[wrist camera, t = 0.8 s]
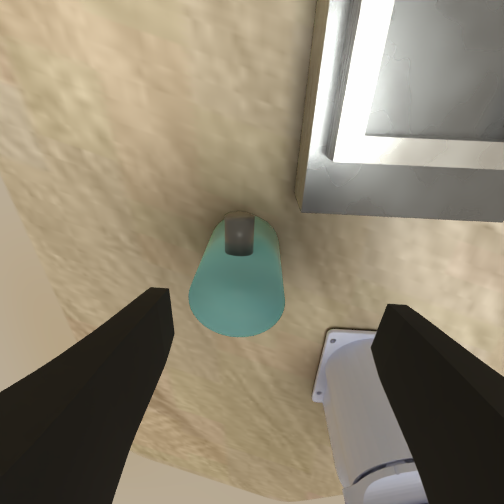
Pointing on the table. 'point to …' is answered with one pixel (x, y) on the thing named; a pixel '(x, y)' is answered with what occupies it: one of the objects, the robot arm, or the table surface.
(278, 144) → the table surface
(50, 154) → the table surface
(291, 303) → the table surface
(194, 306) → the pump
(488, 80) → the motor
